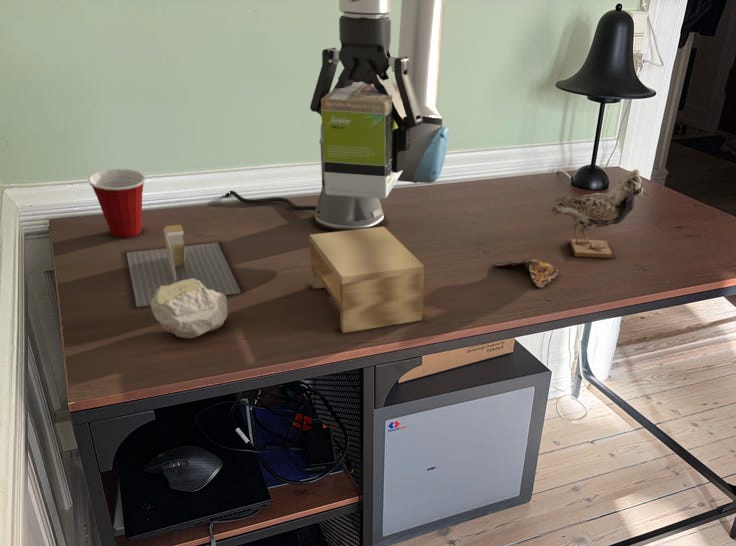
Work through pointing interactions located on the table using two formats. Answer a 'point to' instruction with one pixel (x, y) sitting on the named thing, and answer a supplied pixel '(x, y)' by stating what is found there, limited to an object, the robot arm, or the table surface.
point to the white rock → (189, 308)
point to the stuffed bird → (600, 213)
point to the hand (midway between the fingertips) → (365, 164)
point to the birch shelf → (368, 277)
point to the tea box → (358, 141)
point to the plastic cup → (120, 199)
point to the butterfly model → (539, 271)
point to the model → (178, 267)
